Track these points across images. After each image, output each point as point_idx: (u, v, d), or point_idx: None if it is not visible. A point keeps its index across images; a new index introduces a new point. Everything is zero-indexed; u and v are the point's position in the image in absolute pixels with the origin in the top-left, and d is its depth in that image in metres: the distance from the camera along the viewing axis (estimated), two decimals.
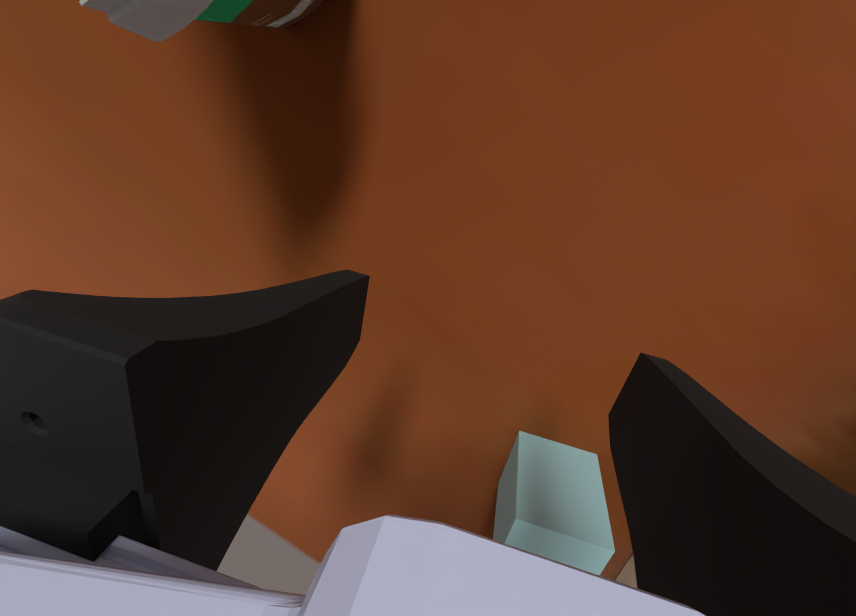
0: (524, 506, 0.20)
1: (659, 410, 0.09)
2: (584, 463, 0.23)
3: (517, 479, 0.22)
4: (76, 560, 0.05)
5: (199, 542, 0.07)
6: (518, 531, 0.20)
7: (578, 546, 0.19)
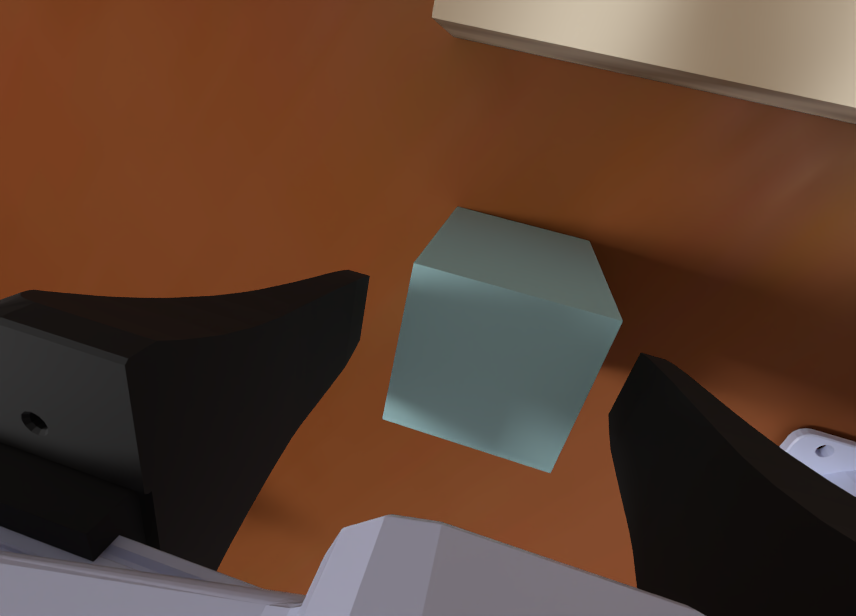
0: None
1: (659, 410, 0.09)
2: None
3: None
4: (76, 560, 0.05)
5: (199, 542, 0.07)
6: (412, 417, 0.11)
7: (418, 325, 0.10)
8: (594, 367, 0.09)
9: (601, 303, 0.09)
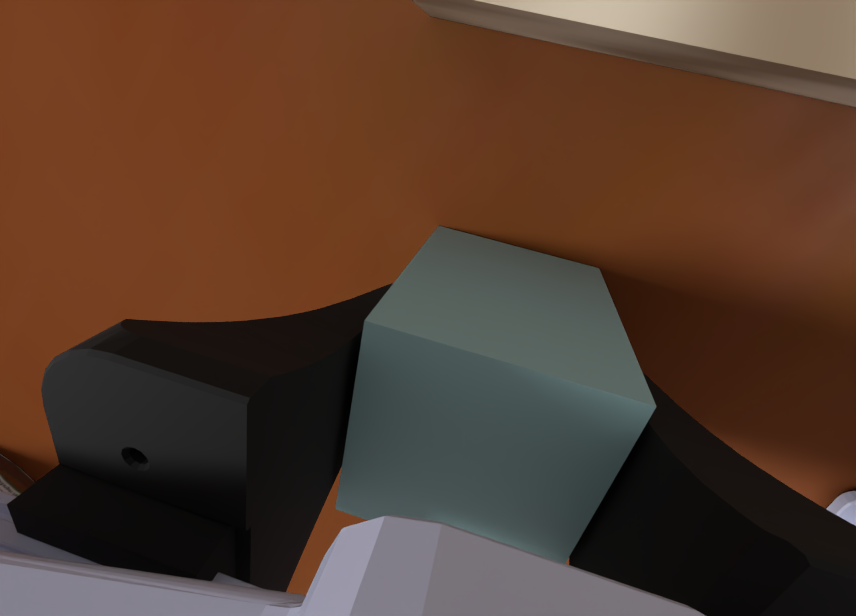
0: None
1: None
2: None
3: None
4: None
5: (276, 570, 0.06)
6: (372, 509, 0.08)
7: (375, 400, 0.07)
8: (614, 463, 0.07)
9: (623, 374, 0.07)
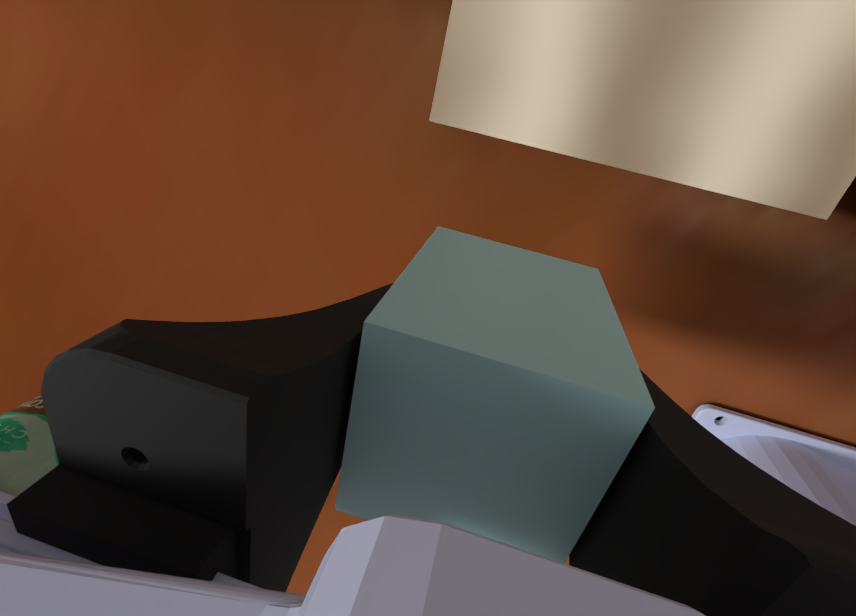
0: None
1: None
2: None
3: None
4: None
5: (276, 570, 0.06)
6: (372, 509, 0.08)
7: (375, 401, 0.07)
8: (612, 464, 0.07)
9: (622, 375, 0.07)
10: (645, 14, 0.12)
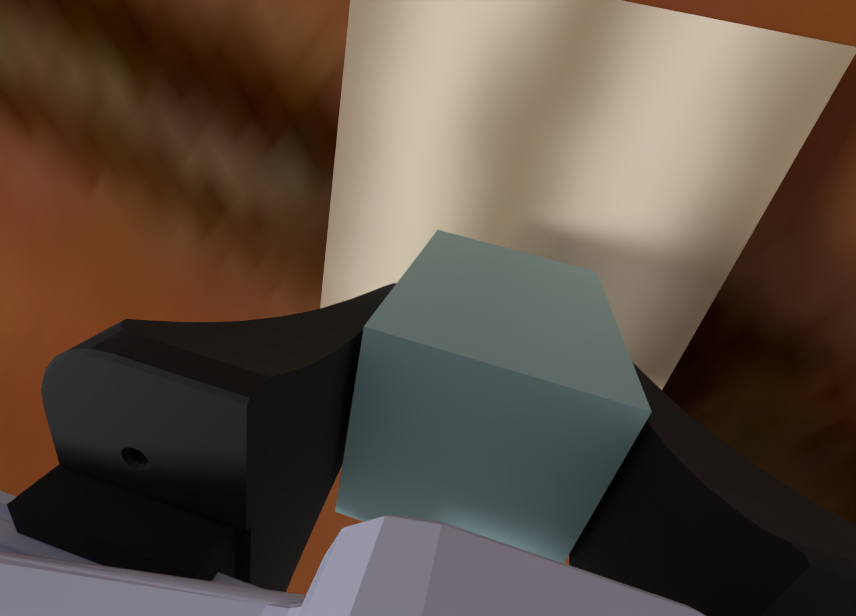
0: None
1: None
2: None
3: None
4: None
5: (276, 570, 0.06)
6: (372, 511, 0.09)
7: (375, 404, 0.07)
8: (610, 468, 0.07)
9: (620, 379, 0.07)
10: None
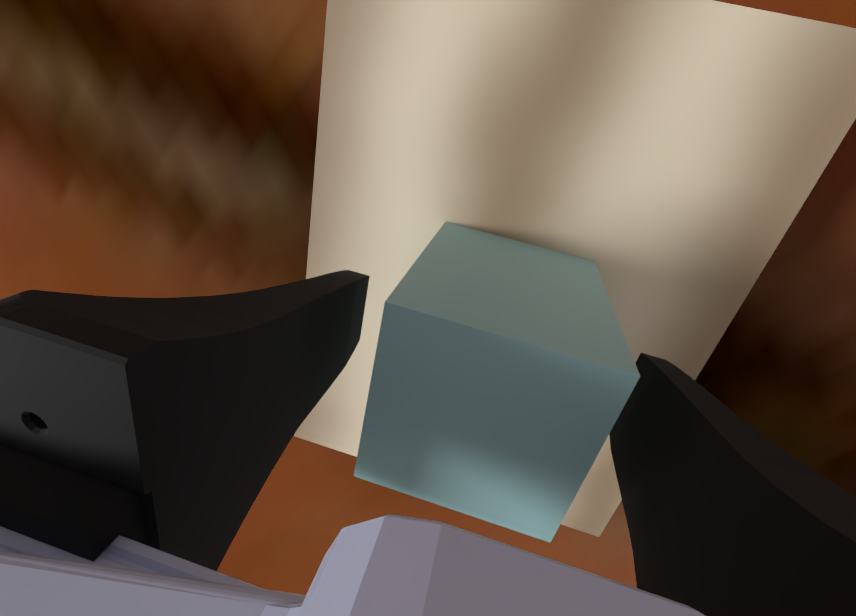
0: None
1: (659, 411, 0.09)
2: None
3: None
4: (76, 560, 0.05)
5: (199, 542, 0.07)
6: (388, 475, 0.09)
7: (393, 374, 0.08)
8: (604, 429, 0.08)
9: (613, 350, 0.08)
10: None
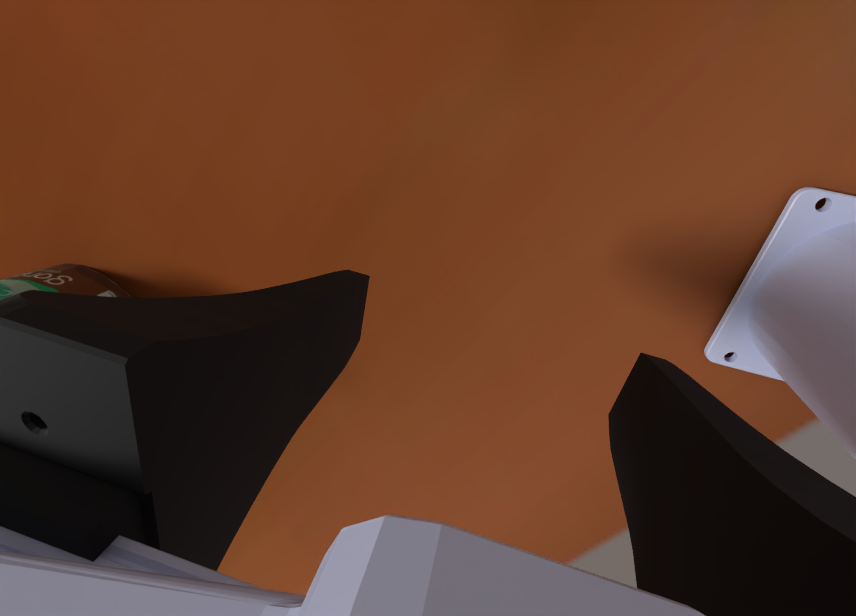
0: None
1: (659, 410, 0.09)
2: None
3: None
4: (76, 560, 0.05)
5: (199, 542, 0.07)
6: None
7: None
8: None
9: None
10: None
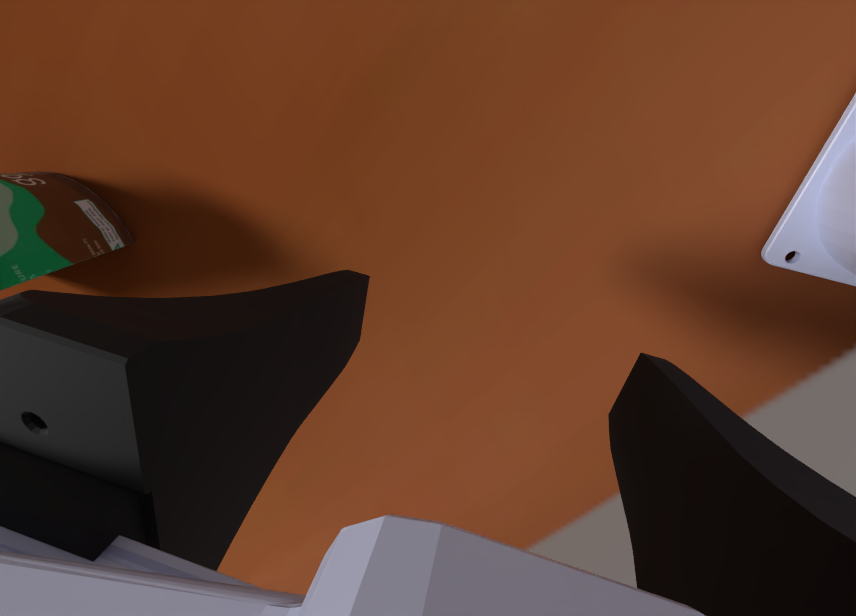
0: None
1: (658, 410, 0.09)
2: None
3: None
4: (76, 560, 0.05)
5: (199, 542, 0.07)
6: None
7: None
8: None
9: None
10: None
